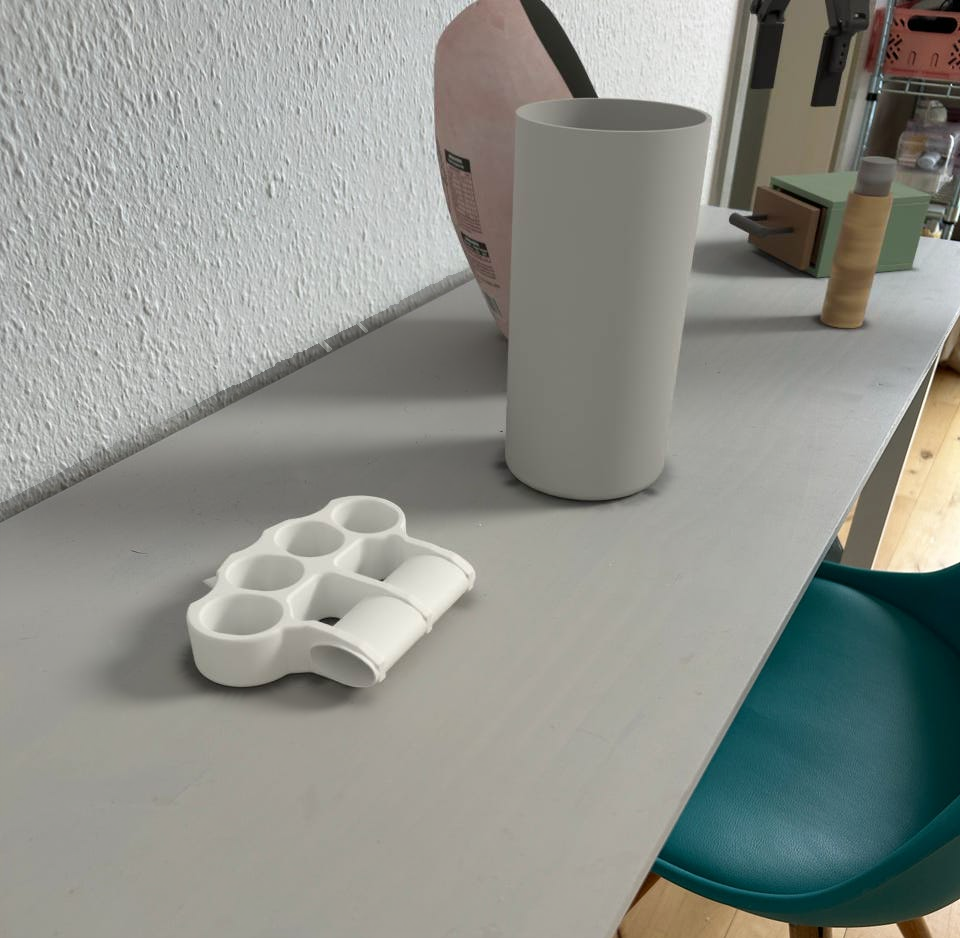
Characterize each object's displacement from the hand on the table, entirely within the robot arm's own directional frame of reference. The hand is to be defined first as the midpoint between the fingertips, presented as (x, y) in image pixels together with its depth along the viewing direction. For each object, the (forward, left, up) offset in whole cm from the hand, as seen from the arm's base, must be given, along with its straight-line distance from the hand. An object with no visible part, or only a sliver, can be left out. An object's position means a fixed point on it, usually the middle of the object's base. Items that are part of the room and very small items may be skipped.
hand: (790, 97), depth 112 cm
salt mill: (-21, +2, -18) cm, 28 cm away
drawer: (0, -5, -18) cm, 18 cm away
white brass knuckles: (-59, +65, -19) cm, 90 cm away
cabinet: (0, -11, -18) cm, 21 cm away
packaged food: (-21, +37, -19) cm, 47 cm away
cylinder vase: (-45, +42, -19) cm, 64 cm away
